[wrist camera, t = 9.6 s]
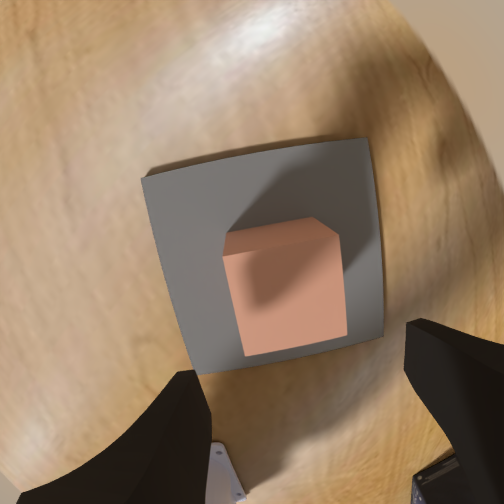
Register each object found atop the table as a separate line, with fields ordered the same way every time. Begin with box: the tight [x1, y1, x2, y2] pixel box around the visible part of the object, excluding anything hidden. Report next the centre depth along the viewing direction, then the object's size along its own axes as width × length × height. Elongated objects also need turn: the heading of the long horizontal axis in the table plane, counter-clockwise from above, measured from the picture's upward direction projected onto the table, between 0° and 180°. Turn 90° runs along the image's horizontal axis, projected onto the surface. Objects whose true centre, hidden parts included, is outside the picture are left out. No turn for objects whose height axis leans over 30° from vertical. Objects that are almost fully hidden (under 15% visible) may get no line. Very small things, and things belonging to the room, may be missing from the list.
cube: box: [222, 217, 347, 356], centre depth 15 cm, size 4×4×4 cm
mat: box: [141, 137, 384, 375], centre depth 17 cm, size 12×12×1 cm
